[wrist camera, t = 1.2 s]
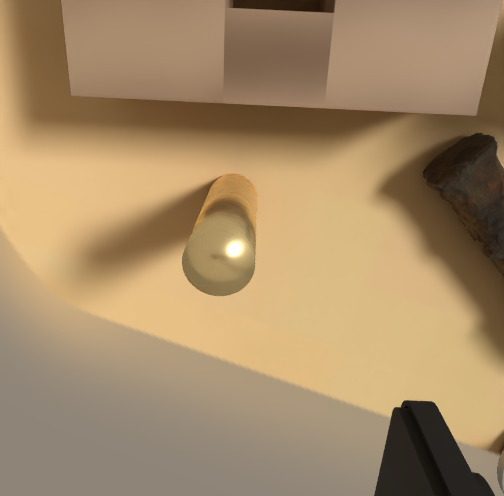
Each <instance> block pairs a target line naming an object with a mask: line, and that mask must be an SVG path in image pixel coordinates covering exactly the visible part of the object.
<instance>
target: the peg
mask: <svg viewBox="0 0 504 496" xmlns="http://www.w3.org/2000/svg"><path fill="white" fill-rule="evenodd" d="M256 207H257V195H256V190H255V188H254V186H253V184H252V183H251V182H250V181H249V180H248V179H247V178H245V177H243V176H241V175H238V174H227V175H223V176H221V177H219V178H218V179H217V180H216V181H215V182H214V183H213V184H212V186H211V188H210V190H209V192H208V195H207V197H206V200H205V202H204V204H203V207H202V209H201V212H200V214H199V216H198V219H197V221H196V223H195V226H194V228H193V231H192V233H191V235H190V238H189V240H188V243H187V245H186V247H185V250H184V253H183V257H182V266H183V271H184V273H185V275H186V277H187V279H188V280H189V282H190V283H191V284H192V285H193V286H194V287H195V288H197V289H198V290H200V291H202V292H204V293H206V294H209V295H214V296H226V295H230V294H233V293H236V292H238V291H240V290H241V289H243V288H244V287H245V286H246V285H247V284H248V283H249V281H250V280H251V278H252V276H253V273H254V270H255V246H256Z"/></svg>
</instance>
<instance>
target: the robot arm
mask: <svg viewBox="0 0 504 496" xmlns="http://www.w3.org/2000/svg"><path fill="white" fill-rule="evenodd" d="M497 473H498V481H499V484H500V487H501V489H502V491H503V493H504V449H503V452H502V454H501V456H500V458H499V463H498V467H497ZM374 496H495V495H494V493H493V491H492V489H491V488H490V486H489V484H488V483H487V481H486V480H485V479H484V477H482V476H481V475H480V474H479V473H473V472H471V470H470V468H469V466H468V464H467V462H466V460H465V458H464V456H463V455H462V453H461V451H460V449H459V447H458V445H457V443H456V441H455V439H454V438H453V436H452V434H451V432H450V430H449V428H448V426H447V424H446V422H445V421H444V419H443V417H442V415H441V413H440V411H439V409H438V407H437V406H436V404H435V403H433V402H432V401H409V400H406V401H403V403H402V405H401V408H400V407H395V408H394V409H393V412H392V417H391V421H390V426H389V430H388V435H387V440H386V444H385V449H384V454H383V458H382V463H381V467H380V472H379V477H378V481H377V486H376V491H375V495H374Z"/></svg>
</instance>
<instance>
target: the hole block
mask: <svg viewBox="0 0 504 496" xmlns="http://www.w3.org/2000/svg"><path fill="white" fill-rule="evenodd" d="M502 2H503V0H319V7H318V12H303V11H282V10H262V9H242V8H234V0H61V6H62V15H63V25H64V34H65V44H66V54H67V63H68V73H69V82H70V92H71V96H83V97H103V98H124V99H144V100H164V101H185V102H205V103H226V104H246V105H266V106H287V107H307V108H327V109H348V110H368V111H389V112H409V113H429V114H450V115H470V116H476V114H477V110H478V106H479V101H480V97H481V93H482V88H483V84H484V80H485V75H486V71H487V67H488V62H489V58H490V54H491V49H492V45H493V41H494V36H495V32H496V28H497V23H498V19H499V15H500V10H501V6H502Z"/></svg>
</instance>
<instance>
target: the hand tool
mask: <svg viewBox="0 0 504 496" xmlns="http://www.w3.org/2000/svg"><path fill="white" fill-rule="evenodd" d="M496 153H497V142H496V141H495V138H494V137H492V136H490V135H483V134H482V133H476V134H474V135H472V136H470V137H466V138H463V139H462V140H460V141H459V142H458V143H457V144H455V145H453V146H452V147H450V148H448V149H447V150H445V151H444V152H442V153H441V154H440V155H438V156H437V157H436V158H435V159H434V160H433V161H432V162H431V163H430V164H429V165H428V166H427V167H426V169H425V170H424V172H423V176H424V178H426V179H427V184H428V185H429V186H430V187H431V188H434V189H436V190H438V191H439V192H440V196H441V197H442V198H443V199H445V200H447V201H449V202H450V203H451V204H452V206H453V209H454V210H455V211H456V213H457V214H458V216H459V217H460V220H461V222H462V223H463V224H464V225H465V226H466V227H467V228H468V231H469V233H470V234H471V236H472V238H473V239H474V240H478V242H479V243H480V244H481V246H482V251H483V252H484V253H485V254H486V255H487V256H488V257H489V258H491V259H492V261H493V262H494V264H495V265H496V266H497V268H498V269H499V270H500V272H501V273H502V274H503V276H504V168H503V167H502V165H501V163H500V162H499V160H498V158H497V156H496Z"/></svg>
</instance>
